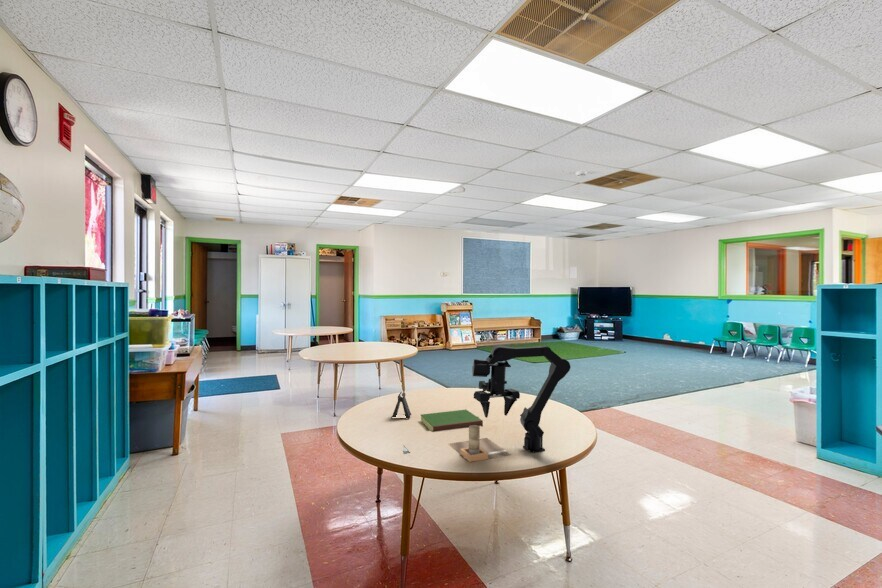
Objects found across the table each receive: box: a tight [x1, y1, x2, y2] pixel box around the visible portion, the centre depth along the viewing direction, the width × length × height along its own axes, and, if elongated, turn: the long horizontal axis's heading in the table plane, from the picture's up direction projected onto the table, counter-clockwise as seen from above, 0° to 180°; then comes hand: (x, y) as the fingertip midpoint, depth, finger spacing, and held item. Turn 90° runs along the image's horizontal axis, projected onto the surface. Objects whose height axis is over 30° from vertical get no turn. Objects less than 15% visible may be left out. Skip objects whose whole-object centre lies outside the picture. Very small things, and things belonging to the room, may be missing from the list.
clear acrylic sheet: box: [448, 437, 512, 463], centre depth 157 cm, size 18×19×1 cm
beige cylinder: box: [468, 425, 481, 455], centre depth 150 cm, size 4×4×11 cm
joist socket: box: [459, 447, 489, 463], centre depth 150 cm, size 8×8×2 cm
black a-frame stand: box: [391, 391, 412, 419], centre depth 200 cm, size 9×6×12 cm, turn 86°
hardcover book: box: [420, 409, 484, 432], centre depth 190 cm, size 25×19×4 cm
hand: (495, 416), depth 160 cm, fingers open, 9 cm apart
